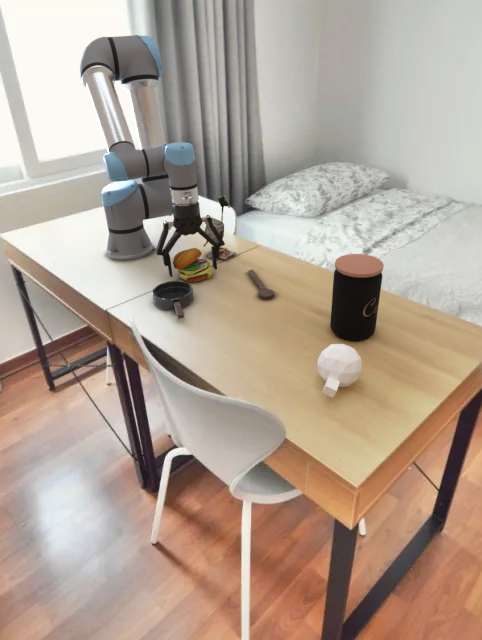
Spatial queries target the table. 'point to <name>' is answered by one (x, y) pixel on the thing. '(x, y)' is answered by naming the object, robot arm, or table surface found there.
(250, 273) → the wooden spoon
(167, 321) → the table surface
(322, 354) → the perfume bottle
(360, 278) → the coffee jar
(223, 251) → the grey brown figurine
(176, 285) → the pan
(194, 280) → the cheeseburger
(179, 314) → the pan handle
